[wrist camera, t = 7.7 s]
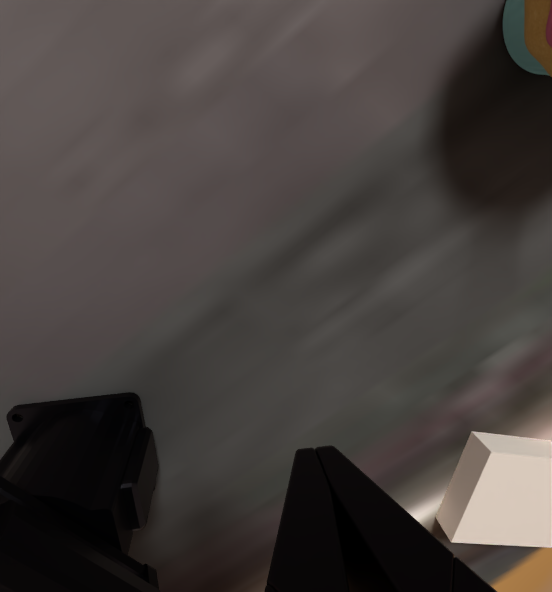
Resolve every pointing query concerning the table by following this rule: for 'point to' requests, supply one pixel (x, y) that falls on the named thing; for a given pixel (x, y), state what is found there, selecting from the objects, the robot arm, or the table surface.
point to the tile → (500, 492)
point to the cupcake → (529, 34)
